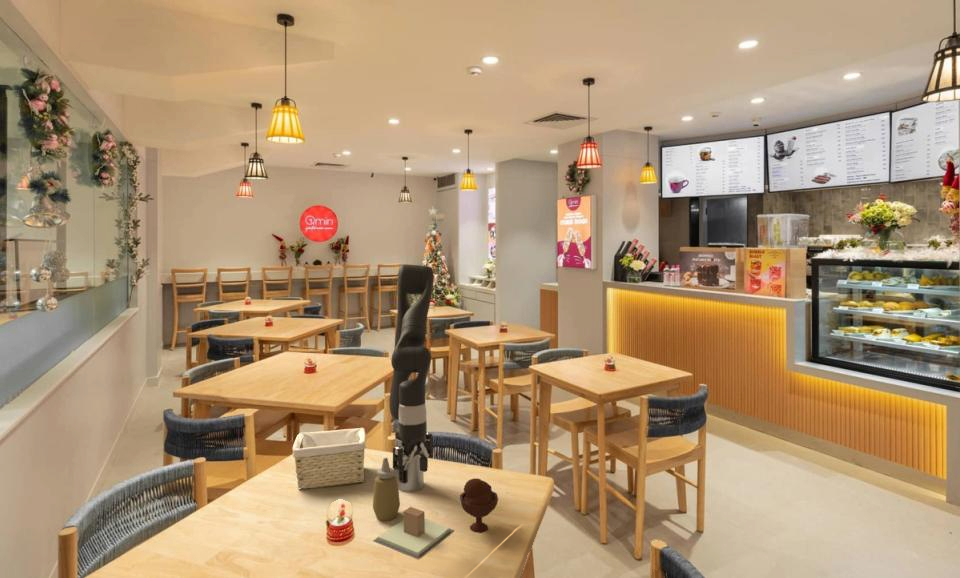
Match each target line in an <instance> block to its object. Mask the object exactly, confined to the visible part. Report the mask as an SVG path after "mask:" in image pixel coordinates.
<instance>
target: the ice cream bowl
mask: <svg viewBox="0 0 960 578" xmlns="http://www.w3.org/2000/svg"><path fill="white" fill-rule="evenodd" d="M459 498H460V505H461V507H462V509H463V511H464V512H465V513H466V514H468V515H470V516H471V517H473V518H475V522H473V523H472V524H471V525H469V529H470V531H471V532H473V533H479V534H480V533H481V534H482V533H485V532H487V530H489V526H488V524H487V523H485V522H483V517H487V516H488V515H490V513H492V511H493V510H494V509H496V507H497V505H498V501H499V497H498V493H497V492H495V491H494V490H492V485H491V484H489V483H488V482H486V481H484V480H482V479H480V478H472V479H469V480H467V481H466V482H465V484H464V486H463V492H462V493H461V494H460V495H459Z"/></svg>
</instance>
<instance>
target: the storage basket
mask: <svg viewBox="0 0 960 578" xmlns="http://www.w3.org/2000/svg"><path fill="white" fill-rule="evenodd" d="M366 437H367V434H366V430H365V428H364V427H359V428H357V427H356V428H346V429H345V428H343V429H336V430H334V429H333V430H324V431H312V432H311V431H310V432H299V434H297V436H296V438H295V440H294V443H293V445H292V457H293V458H294V463H295V474H296V479H297V488H298V489H299V488H310V489H316V488H326V487H331V486H342V485H349V484H356V483H362V482H364V480H365V471H364V470H365V469H364V467H365V466H364V463H365V450H366V442H367V441H366V440H367V439H366ZM325 486H326V487H325Z"/></svg>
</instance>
